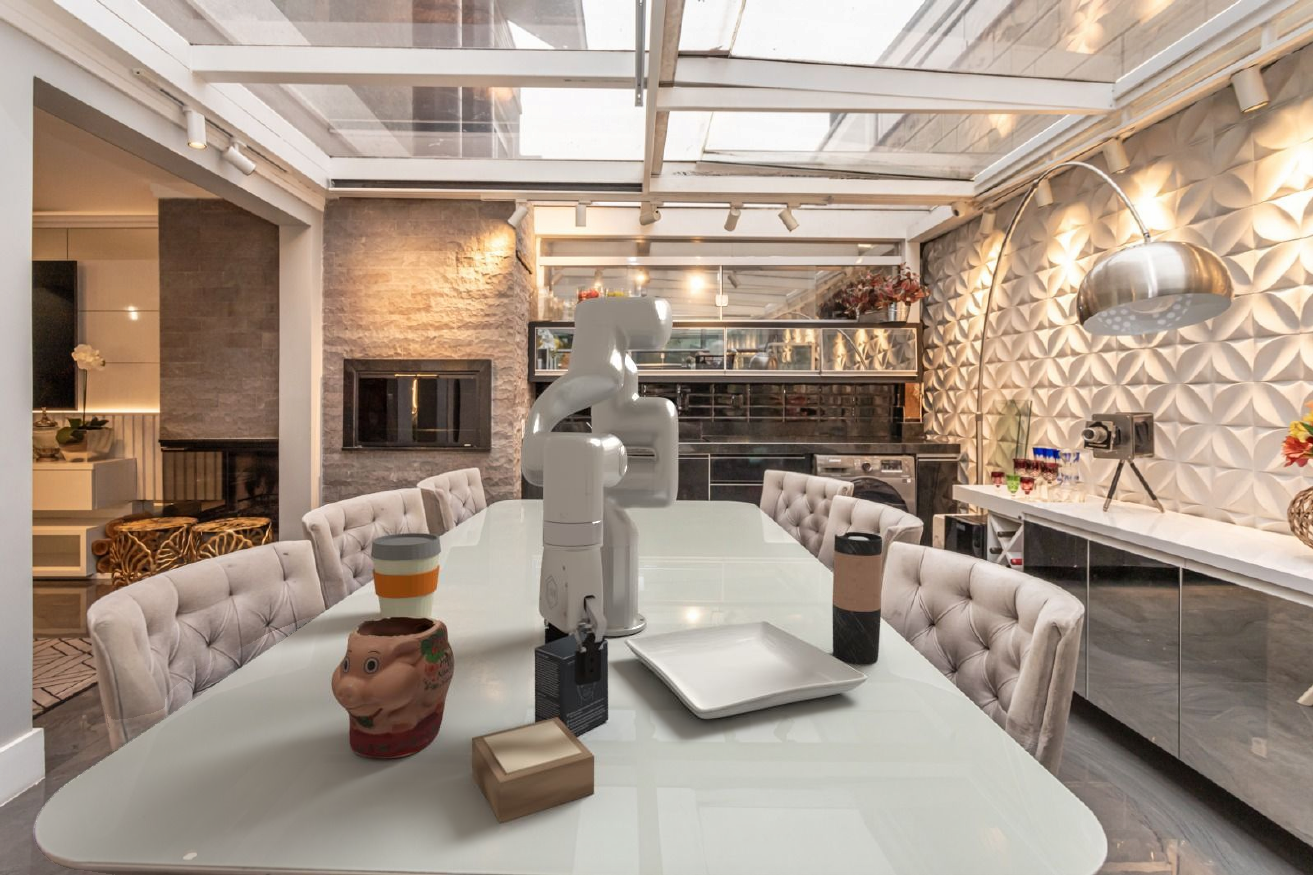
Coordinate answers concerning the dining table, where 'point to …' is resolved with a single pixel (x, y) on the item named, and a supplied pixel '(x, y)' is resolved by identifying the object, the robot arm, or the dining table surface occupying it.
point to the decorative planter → (394, 684)
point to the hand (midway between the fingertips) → (571, 669)
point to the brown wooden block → (531, 768)
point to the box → (569, 687)
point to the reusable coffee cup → (406, 573)
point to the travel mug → (857, 597)
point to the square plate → (742, 667)
